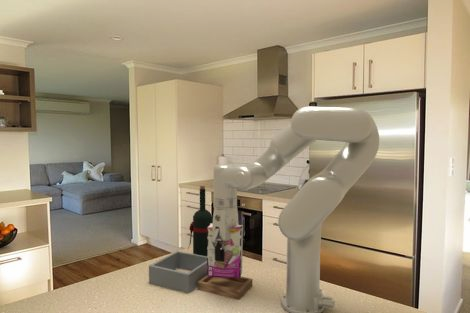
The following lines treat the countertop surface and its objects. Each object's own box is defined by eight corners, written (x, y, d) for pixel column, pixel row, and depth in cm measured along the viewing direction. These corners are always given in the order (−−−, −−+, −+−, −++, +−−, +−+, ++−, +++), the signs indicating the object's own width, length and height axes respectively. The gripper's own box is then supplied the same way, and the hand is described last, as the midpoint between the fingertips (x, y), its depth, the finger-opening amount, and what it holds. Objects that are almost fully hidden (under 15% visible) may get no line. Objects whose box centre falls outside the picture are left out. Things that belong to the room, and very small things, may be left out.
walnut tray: (252, 286, 111) (252, 278, 111) (239, 299, 102) (239, 291, 102) (213, 277, 118) (213, 270, 117) (197, 289, 109) (197, 281, 108)
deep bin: (214, 274, 120) (214, 257, 120) (188, 293, 106) (188, 274, 106) (177, 266, 127) (177, 250, 127) (149, 283, 113) (148, 265, 113)
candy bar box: (206, 277, 108) (206, 227, 106) (209, 271, 113) (209, 223, 111) (241, 279, 106) (241, 228, 105) (242, 272, 111) (243, 224, 110)
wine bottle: (189, 257, 137) (188, 184, 135) (214, 258, 136) (214, 184, 134) (185, 264, 129) (184, 187, 127) (211, 265, 128) (210, 187, 126)
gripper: (222, 209, 98) (222, 269, 100) (247, 199, 114) (246, 250, 115) (200, 206, 102) (200, 264, 103) (227, 196, 117) (227, 247, 118)
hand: (225, 256), depth 109 cm, fingers closed on candy bar box, 6 cm apart
